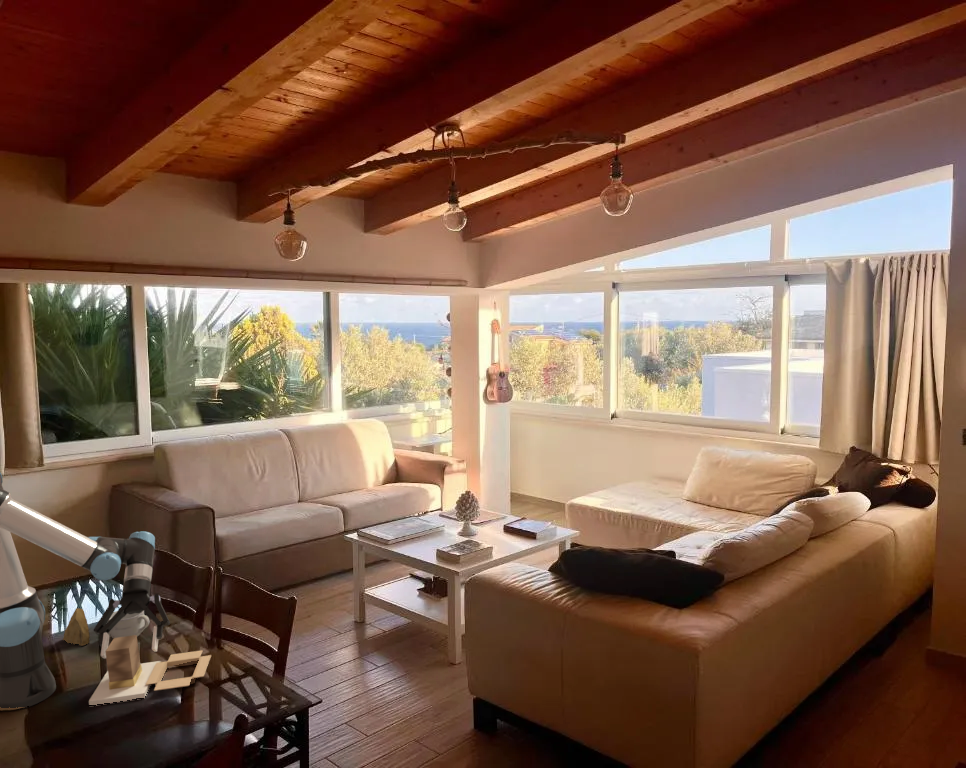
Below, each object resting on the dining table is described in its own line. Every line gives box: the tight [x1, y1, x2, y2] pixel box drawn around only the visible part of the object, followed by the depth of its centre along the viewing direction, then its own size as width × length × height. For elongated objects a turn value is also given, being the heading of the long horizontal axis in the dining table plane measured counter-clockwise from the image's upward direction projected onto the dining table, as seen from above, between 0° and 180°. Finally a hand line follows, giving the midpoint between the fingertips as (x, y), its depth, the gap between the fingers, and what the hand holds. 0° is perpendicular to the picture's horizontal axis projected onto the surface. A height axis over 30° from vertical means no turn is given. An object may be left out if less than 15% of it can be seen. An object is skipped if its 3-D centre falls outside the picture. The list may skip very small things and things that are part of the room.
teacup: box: [108, 610, 151, 639], centre depth 238 cm, size 14×11×8 cm
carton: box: [146, 650, 212, 691], centre depth 212 cm, size 15×20×2 cm
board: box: [88, 660, 161, 706], centre depth 208 cm, size 14×18×2 cm
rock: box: [62, 607, 91, 646], centre depth 237 cm, size 11×9×10 cm
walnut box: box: [105, 635, 142, 690], centre depth 208 cm, size 6×8×11 cm
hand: (129, 653), depth 211 cm, fingers open, 13 cm apart
